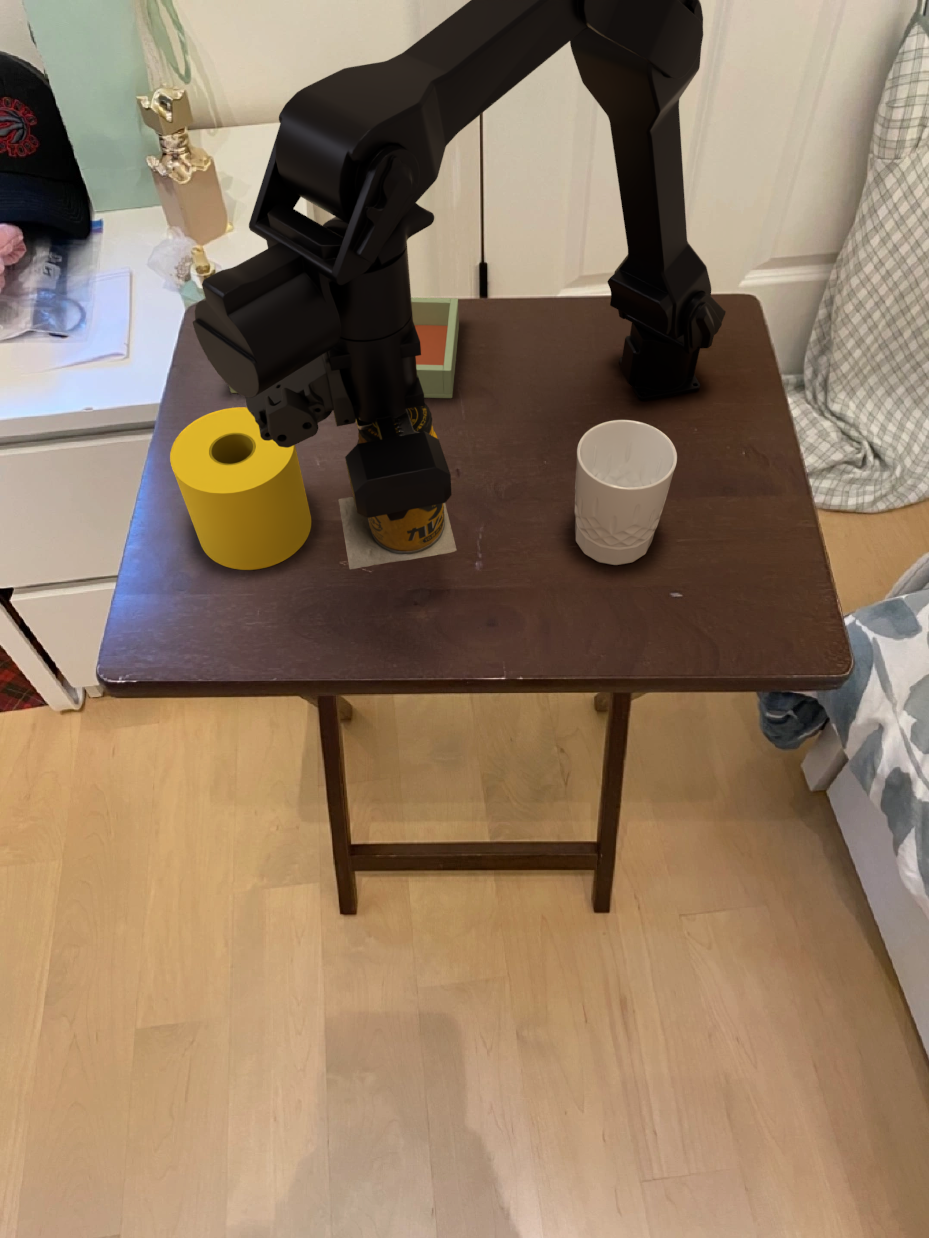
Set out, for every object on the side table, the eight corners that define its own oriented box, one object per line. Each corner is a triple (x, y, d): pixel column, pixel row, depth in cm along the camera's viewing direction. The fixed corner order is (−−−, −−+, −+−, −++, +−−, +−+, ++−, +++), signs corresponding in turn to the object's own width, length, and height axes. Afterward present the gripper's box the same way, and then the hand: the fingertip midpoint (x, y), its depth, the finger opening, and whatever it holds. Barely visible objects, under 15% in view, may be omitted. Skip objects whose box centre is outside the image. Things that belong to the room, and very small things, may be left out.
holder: (458, 326, 100) (458, 298, 97) (452, 398, 93) (451, 370, 90) (252, 322, 101) (245, 294, 98) (230, 393, 94) (223, 365, 92)
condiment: (457, 552, 73) (450, 441, 63) (349, 570, 72) (325, 461, 63) (440, 485, 77) (431, 370, 67) (338, 502, 77) (314, 389, 67)
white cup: (581, 578, 80) (592, 496, 71) (558, 511, 84) (565, 427, 76) (670, 563, 80) (691, 480, 72) (642, 497, 85) (658, 413, 77)
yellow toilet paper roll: (209, 486, 87) (182, 408, 79) (316, 485, 86) (300, 406, 79) (189, 570, 81) (159, 493, 73) (305, 569, 81) (286, 492, 73)
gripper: (222, 250, 62) (267, 426, 75) (253, 436, 52) (299, 605, 64) (385, 224, 64) (402, 401, 77) (449, 401, 53) (456, 573, 66)
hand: (388, 488), depth 71 cm, fingers closed on condiment, 6 cm apart
